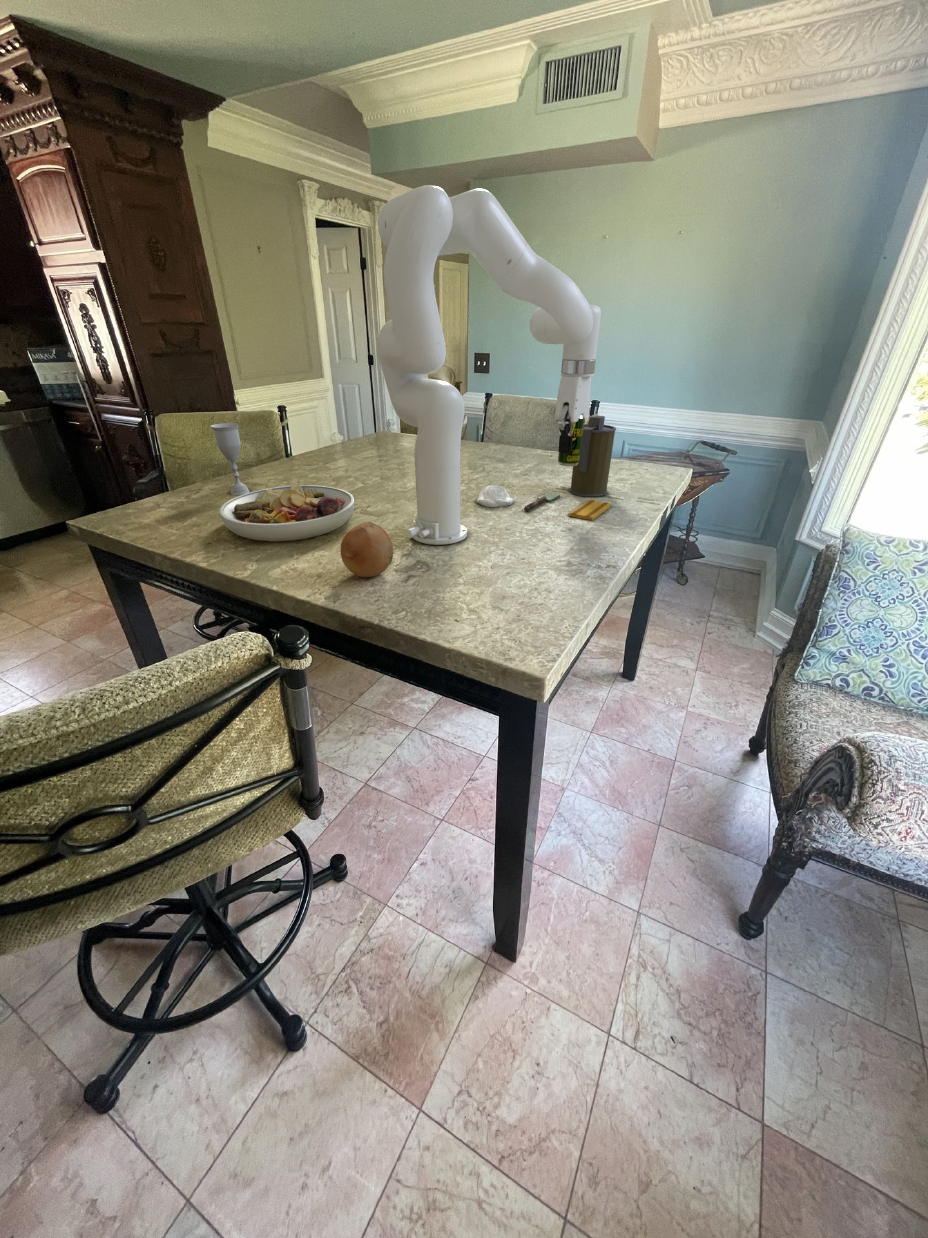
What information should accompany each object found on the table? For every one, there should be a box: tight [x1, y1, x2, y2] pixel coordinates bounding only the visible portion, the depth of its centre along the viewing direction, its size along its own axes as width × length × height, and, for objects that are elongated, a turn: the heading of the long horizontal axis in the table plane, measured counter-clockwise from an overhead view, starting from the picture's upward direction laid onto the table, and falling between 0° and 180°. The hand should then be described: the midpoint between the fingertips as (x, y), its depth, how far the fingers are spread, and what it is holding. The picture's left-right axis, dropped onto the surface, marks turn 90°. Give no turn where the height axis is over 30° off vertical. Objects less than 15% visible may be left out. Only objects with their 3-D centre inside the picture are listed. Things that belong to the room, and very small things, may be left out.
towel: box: [568, 499, 612, 521], centre depth 127 cm, size 13×6×1 cm, turn 146°
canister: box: [569, 415, 617, 498], centre depth 137 cm, size 11×10×20 cm
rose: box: [476, 484, 514, 508], centre depth 133 cm, size 10×4×10 cm
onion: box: [340, 521, 394, 579], centre depth 92 cm, size 10×10×10 cm
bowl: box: [219, 484, 356, 542], centre depth 118 cm, size 30×30×8 cm
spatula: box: [523, 491, 561, 512], centre depth 132 cm, size 17×4×1 cm, turn 146°
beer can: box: [557, 413, 586, 467], centre depth 122 cm, size 5×5×12 cm
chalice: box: [210, 422, 251, 496], centre depth 137 cm, size 7×7×18 cm
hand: (569, 449), depth 123 cm, fingers closed on beer can, 5 cm apart
